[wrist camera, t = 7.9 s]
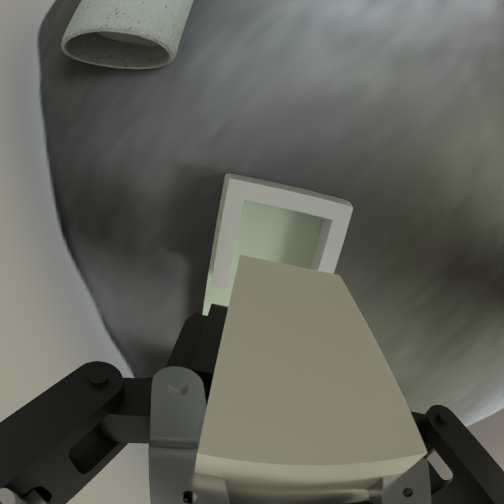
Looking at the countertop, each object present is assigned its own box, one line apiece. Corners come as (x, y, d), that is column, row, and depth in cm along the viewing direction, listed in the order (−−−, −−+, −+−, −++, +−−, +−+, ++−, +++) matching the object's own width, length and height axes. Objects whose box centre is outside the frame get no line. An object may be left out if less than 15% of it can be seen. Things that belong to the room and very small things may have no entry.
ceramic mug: (215, -16, 13) (192, -76, 6) (189, 71, 16) (143, 28, 8) (100, -3, 13) (51, -36, 6) (72, 76, 16) (7, 61, 8)
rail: (344, 199, 18) (410, 240, 9) (268, 418, 26) (267, 494, 17) (228, 172, 18) (191, 190, 9) (193, 405, 26) (174, 480, 17)
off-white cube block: (219, 250, 11) (142, 438, 3) (357, 278, 11) (454, 445, 3) (202, 357, 12) (160, 514, 5) (315, 376, 13) (339, 526, 5)
